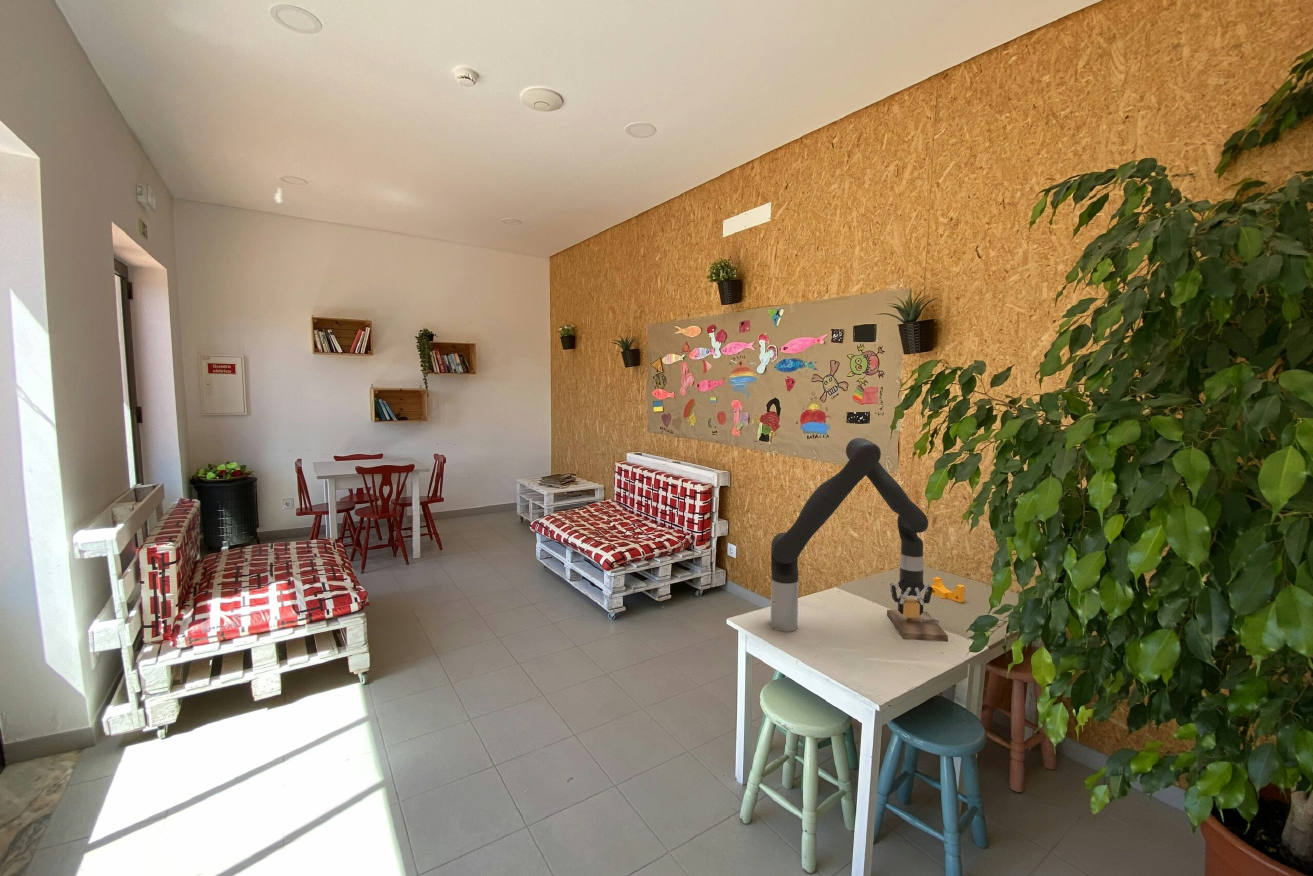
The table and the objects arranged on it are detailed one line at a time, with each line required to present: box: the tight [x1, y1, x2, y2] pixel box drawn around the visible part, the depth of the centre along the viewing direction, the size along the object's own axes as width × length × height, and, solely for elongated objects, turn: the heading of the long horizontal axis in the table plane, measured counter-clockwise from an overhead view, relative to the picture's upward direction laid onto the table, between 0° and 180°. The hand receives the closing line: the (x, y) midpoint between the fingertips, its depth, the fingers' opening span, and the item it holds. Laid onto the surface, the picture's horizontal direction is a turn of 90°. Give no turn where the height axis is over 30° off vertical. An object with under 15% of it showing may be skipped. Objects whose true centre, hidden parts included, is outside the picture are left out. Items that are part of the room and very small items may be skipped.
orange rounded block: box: [902, 597, 920, 618], centre depth 189 cm, size 5×5×5 cm
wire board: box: [886, 609, 949, 642], centre depth 190 cm, size 14×20×6 cm
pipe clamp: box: [930, 576, 966, 603], centre depth 218 cm, size 12×4×6 cm, turn 27°
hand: (910, 613), depth 190 cm, fingers closed on orange rounded block, 5 cm apart
